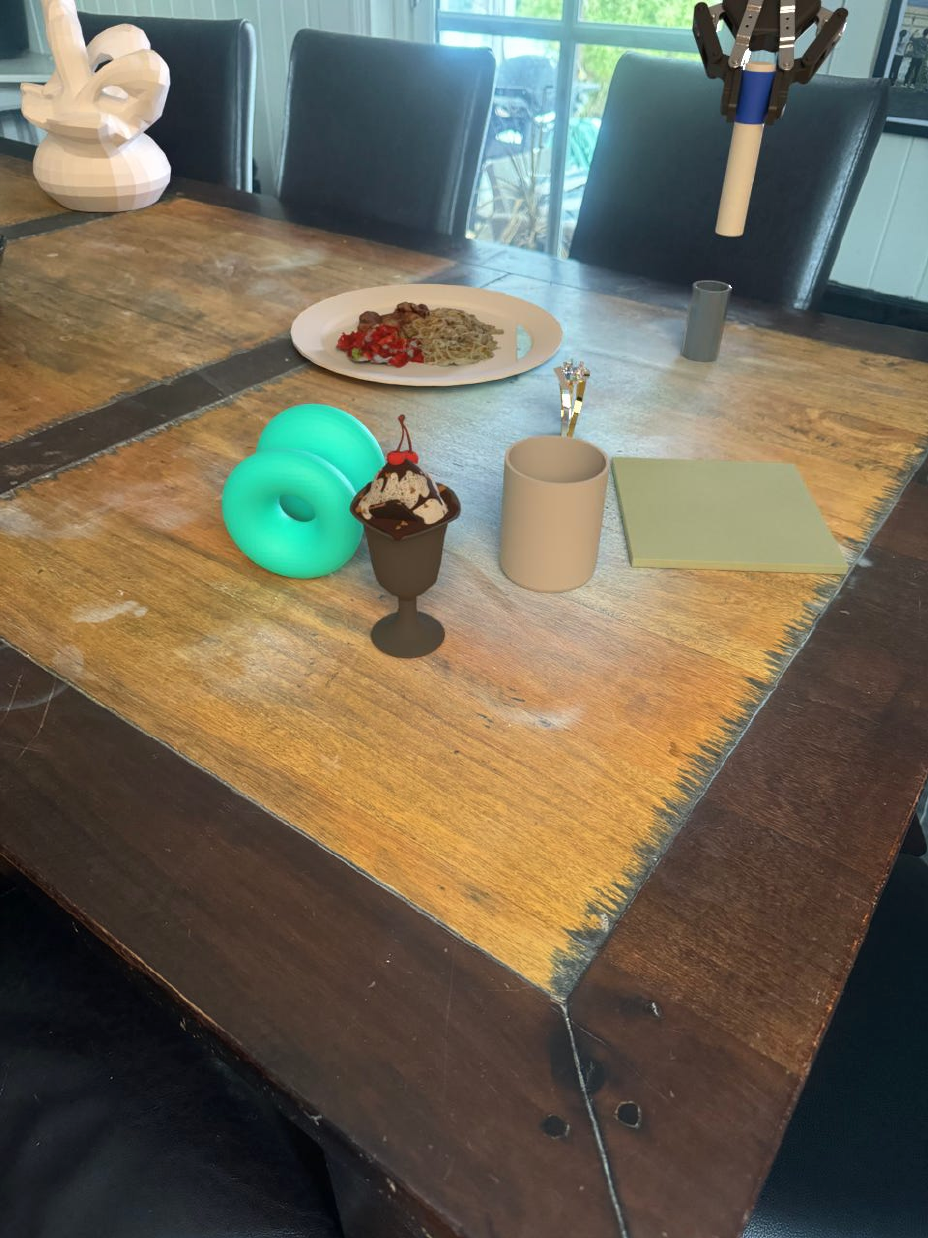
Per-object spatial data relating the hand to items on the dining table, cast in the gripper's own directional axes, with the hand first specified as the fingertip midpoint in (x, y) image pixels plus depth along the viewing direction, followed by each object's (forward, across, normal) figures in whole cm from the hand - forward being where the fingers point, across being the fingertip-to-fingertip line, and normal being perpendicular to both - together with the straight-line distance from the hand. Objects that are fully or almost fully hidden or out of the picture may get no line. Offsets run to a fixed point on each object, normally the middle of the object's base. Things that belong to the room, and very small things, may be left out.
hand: (750, 116), depth 80 cm
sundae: (+52, -16, -17) cm, 57 cm away
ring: (+31, -11, +5) cm, 33 cm away
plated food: (+16, -30, +19) cm, 39 cm away
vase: (-15, -98, +50) cm, 111 cm away
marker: (+6, 0, +9) cm, 10 cm away
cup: (+43, -9, -8) cm, 45 cm away
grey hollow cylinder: (+13, -1, +22) cm, 26 cm away
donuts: (+46, -26, -11) cm, 54 cm away
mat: (+36, +3, -1) cm, 36 cm away
